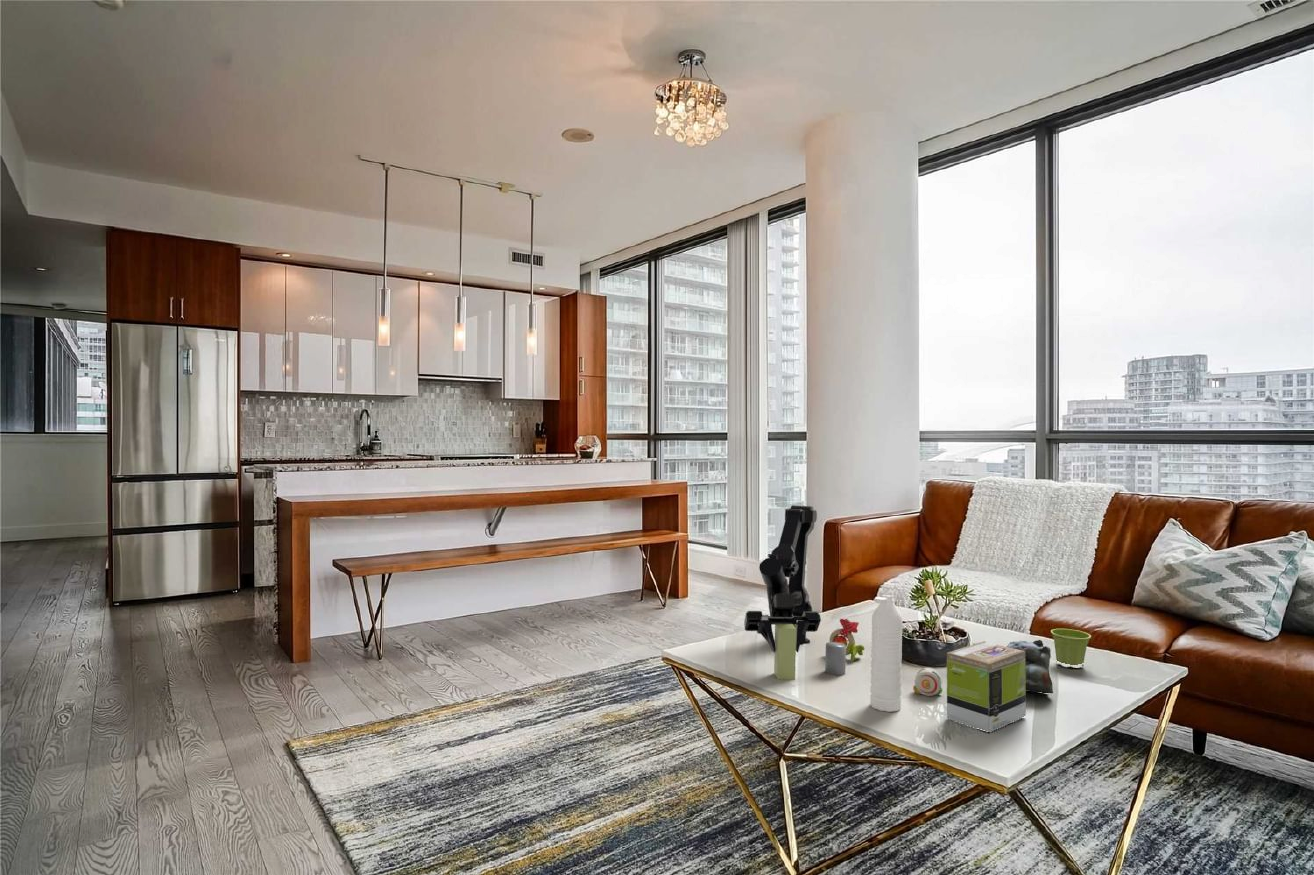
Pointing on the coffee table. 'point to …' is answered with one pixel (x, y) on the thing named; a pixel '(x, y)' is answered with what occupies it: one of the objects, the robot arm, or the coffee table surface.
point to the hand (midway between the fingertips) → (786, 651)
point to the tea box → (986, 685)
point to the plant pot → (1070, 645)
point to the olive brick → (785, 651)
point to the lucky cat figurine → (1035, 665)
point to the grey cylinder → (835, 658)
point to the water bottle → (886, 655)
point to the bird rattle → (847, 632)
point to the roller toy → (928, 682)
